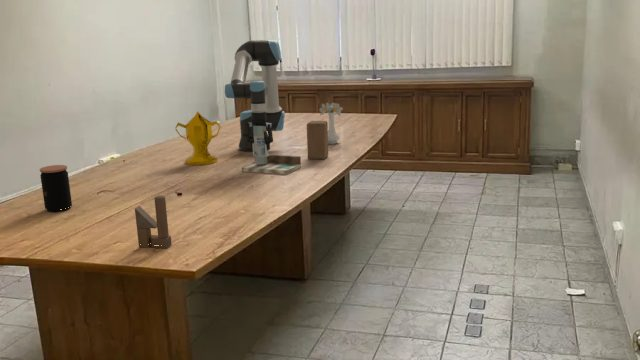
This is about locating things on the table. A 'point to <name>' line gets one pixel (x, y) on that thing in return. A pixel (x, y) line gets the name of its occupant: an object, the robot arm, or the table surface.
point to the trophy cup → (199, 140)
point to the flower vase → (331, 120)
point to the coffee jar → (56, 188)
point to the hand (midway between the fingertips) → (261, 155)
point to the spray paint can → (259, 144)
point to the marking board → (276, 165)
